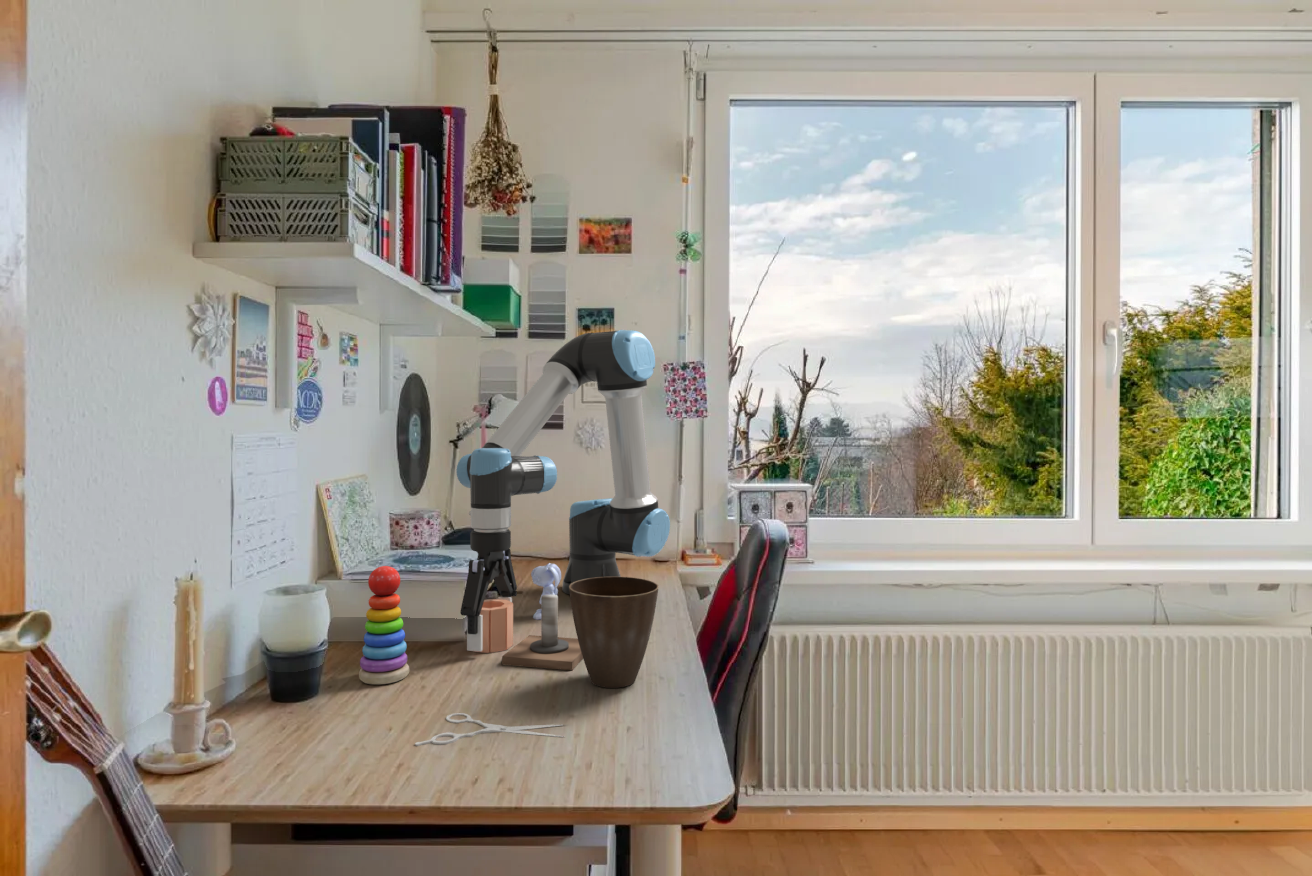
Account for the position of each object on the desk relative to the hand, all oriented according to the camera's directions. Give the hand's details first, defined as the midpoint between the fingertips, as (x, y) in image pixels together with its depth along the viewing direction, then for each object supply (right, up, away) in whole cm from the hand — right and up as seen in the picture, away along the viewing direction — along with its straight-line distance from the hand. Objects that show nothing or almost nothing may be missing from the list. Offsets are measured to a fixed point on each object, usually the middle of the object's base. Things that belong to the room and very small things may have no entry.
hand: (490, 639), depth 141 cm
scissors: (+10, -3, -38) cm, 39 cm away
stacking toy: (-14, -2, -17) cm, 22 cm away
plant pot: (+25, -2, -18) cm, 30 cm away
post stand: (+12, -1, -5) cm, 13 cm away
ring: (0, -1, 0) cm, 1 cm away
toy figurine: (+7, -1, +21) cm, 22 cm away
